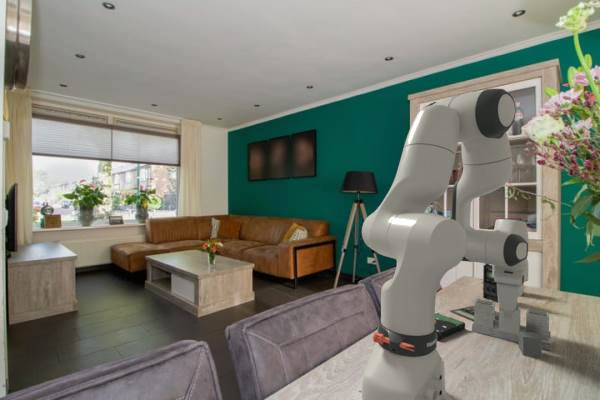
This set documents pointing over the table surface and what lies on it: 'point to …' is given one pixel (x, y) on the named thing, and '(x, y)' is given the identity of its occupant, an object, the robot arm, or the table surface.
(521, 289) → the medicine bottle
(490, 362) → the table surface
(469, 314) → the calculator
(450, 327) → the disk drive
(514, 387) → the table surface
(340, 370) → the table surface
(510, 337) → the rail
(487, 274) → the geiger counter
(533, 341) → the block
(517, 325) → the block
